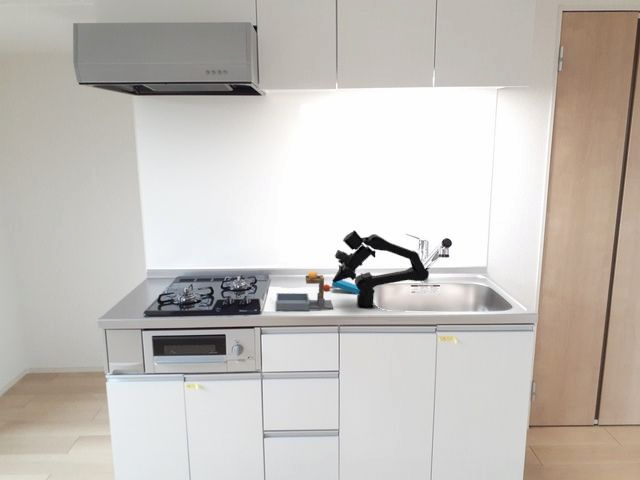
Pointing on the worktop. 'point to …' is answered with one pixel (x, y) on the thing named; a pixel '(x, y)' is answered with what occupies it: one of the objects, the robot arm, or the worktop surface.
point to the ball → (312, 275)
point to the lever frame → (320, 304)
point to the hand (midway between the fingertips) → (333, 281)
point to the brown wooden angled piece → (317, 281)
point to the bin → (292, 302)
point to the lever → (343, 286)
